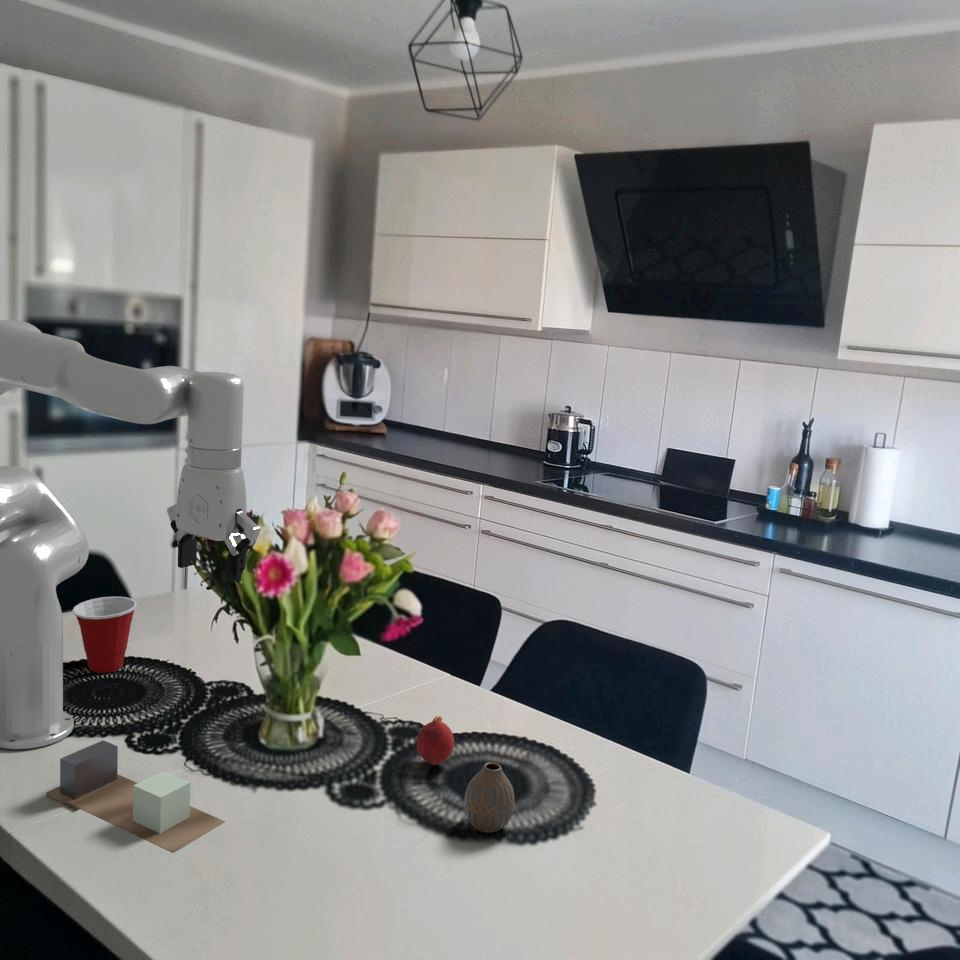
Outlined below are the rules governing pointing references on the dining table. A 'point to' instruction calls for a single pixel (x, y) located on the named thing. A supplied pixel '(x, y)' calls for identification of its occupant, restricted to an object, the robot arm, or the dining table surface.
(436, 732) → the red pomegranate
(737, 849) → the dining table surface
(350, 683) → the dining table surface
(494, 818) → the vase
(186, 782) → the sage block
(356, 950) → the dining table surface
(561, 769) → the dining table surface
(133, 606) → the plastic cup
